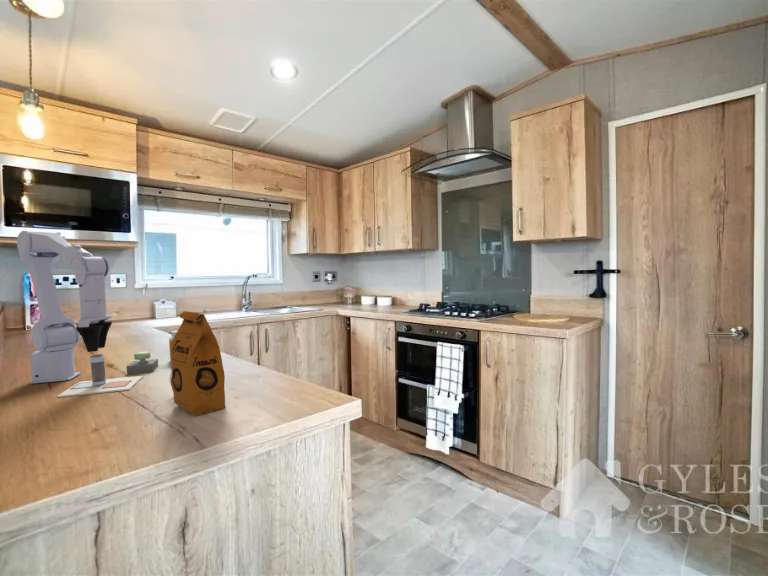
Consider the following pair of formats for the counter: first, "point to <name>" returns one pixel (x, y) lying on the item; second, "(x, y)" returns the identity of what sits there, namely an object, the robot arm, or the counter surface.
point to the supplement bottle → (171, 340)
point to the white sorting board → (102, 386)
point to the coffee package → (197, 366)
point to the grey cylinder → (98, 370)
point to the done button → (142, 356)
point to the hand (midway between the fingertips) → (96, 349)
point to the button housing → (142, 366)
